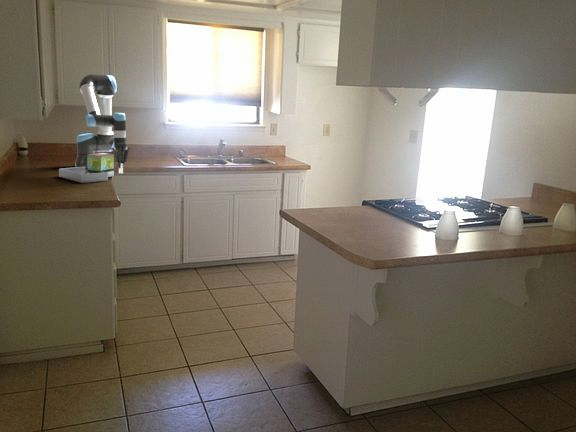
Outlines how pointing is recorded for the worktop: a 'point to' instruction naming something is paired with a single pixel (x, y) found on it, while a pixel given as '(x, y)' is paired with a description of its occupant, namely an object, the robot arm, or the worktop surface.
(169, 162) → the worktop surface
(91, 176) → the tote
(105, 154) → the tea box
